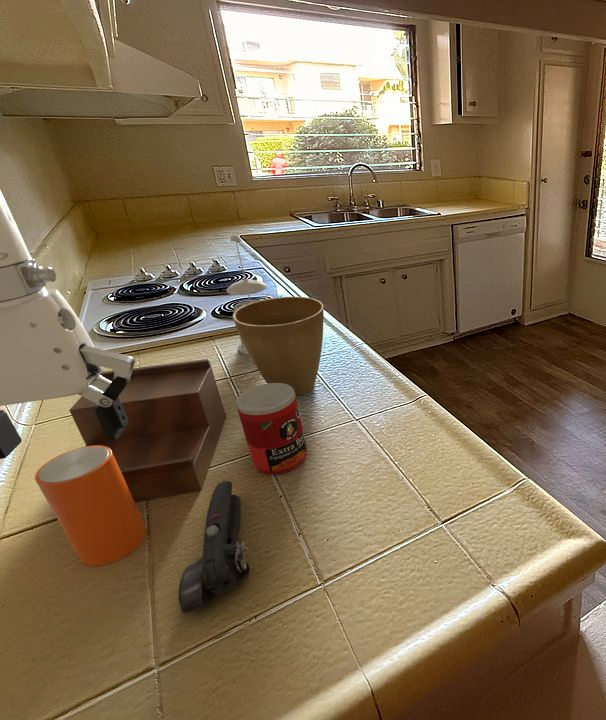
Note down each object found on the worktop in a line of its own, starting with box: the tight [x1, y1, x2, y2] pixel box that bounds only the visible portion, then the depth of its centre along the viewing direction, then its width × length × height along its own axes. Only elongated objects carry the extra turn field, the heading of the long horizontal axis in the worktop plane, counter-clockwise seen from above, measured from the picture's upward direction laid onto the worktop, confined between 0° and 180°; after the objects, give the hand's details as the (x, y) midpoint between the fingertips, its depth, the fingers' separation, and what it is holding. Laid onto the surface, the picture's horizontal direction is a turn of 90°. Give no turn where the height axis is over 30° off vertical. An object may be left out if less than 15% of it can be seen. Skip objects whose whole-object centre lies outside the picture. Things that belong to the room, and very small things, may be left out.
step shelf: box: [68, 358, 227, 503], centre depth 67 cm, size 16×19×11 cm
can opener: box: [178, 480, 251, 613], centre depth 53 cm, size 18×7×6 cm, turn 20°
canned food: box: [235, 383, 308, 475], centre depth 67 cm, size 8×8×11 cm
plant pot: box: [232, 296, 325, 397], centre depth 85 cm, size 15×15×16 cm
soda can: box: [34, 445, 148, 567], centre depth 53 cm, size 7×7×12 cm
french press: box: [225, 234, 276, 355], centre depth 101 cm, size 10×12×25 cm
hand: (65, 441), depth 49 cm, fingers open, 9 cm apart
